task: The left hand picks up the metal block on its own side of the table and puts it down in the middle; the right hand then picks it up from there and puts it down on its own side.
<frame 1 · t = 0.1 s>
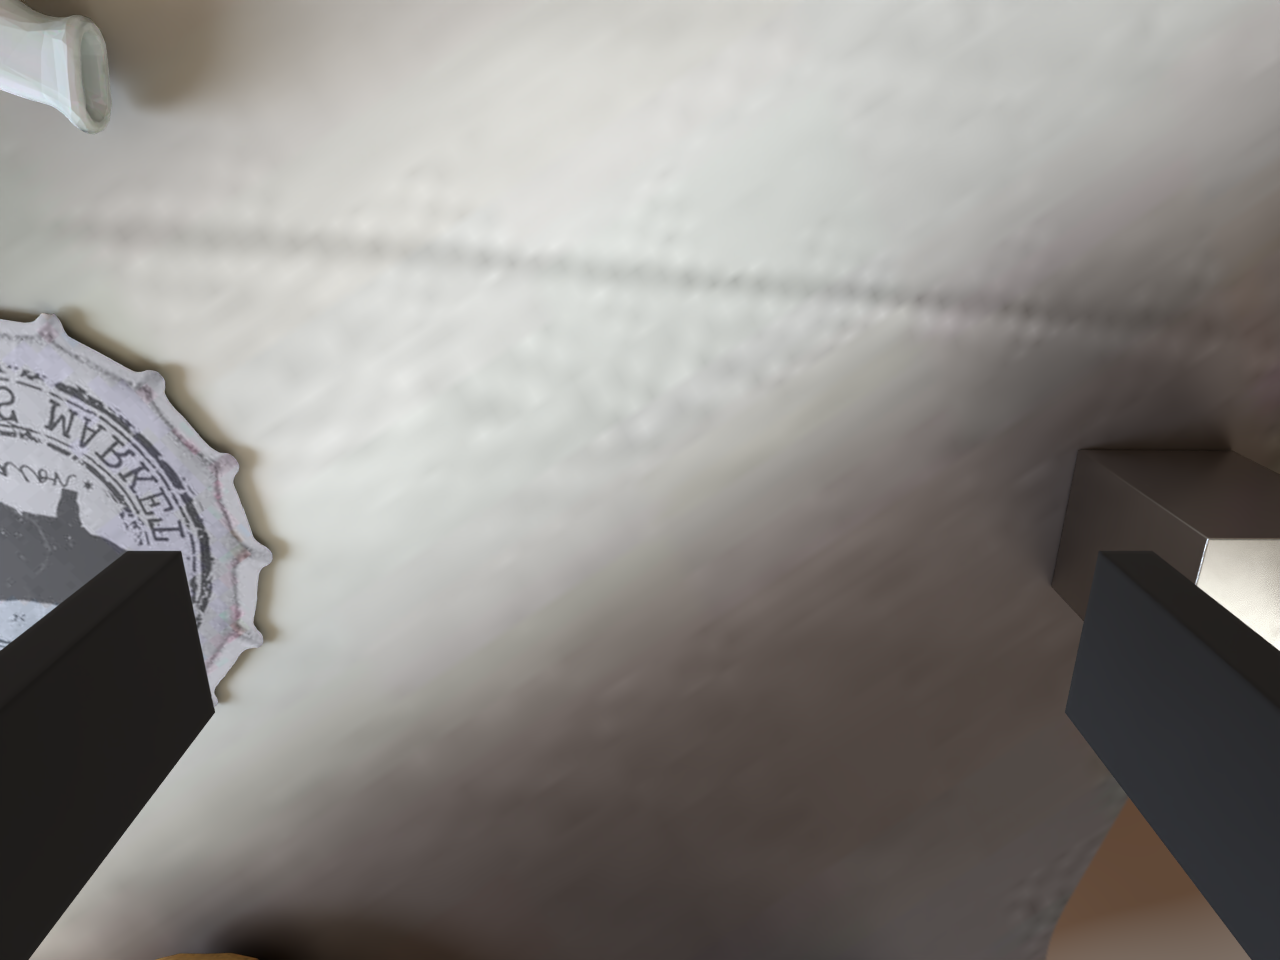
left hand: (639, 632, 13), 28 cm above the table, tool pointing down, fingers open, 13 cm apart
decorative wall hanging: (33, 596, 44), on the table
metal block: (1139, 520, 42), on the table
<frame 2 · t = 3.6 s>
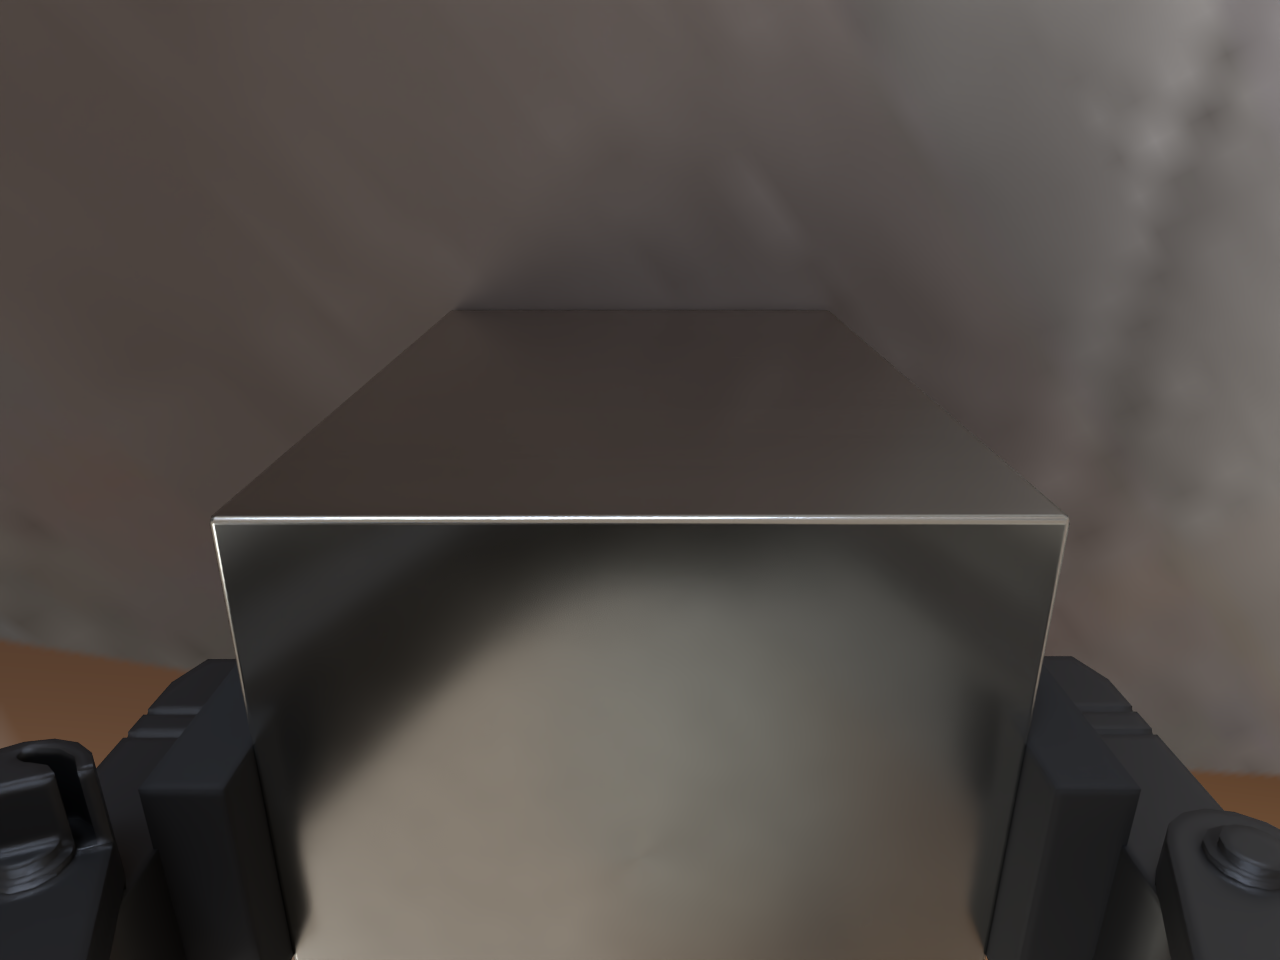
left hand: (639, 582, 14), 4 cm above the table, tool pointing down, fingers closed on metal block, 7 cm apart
metal block: (639, 487, 18), on the table, touching left hand
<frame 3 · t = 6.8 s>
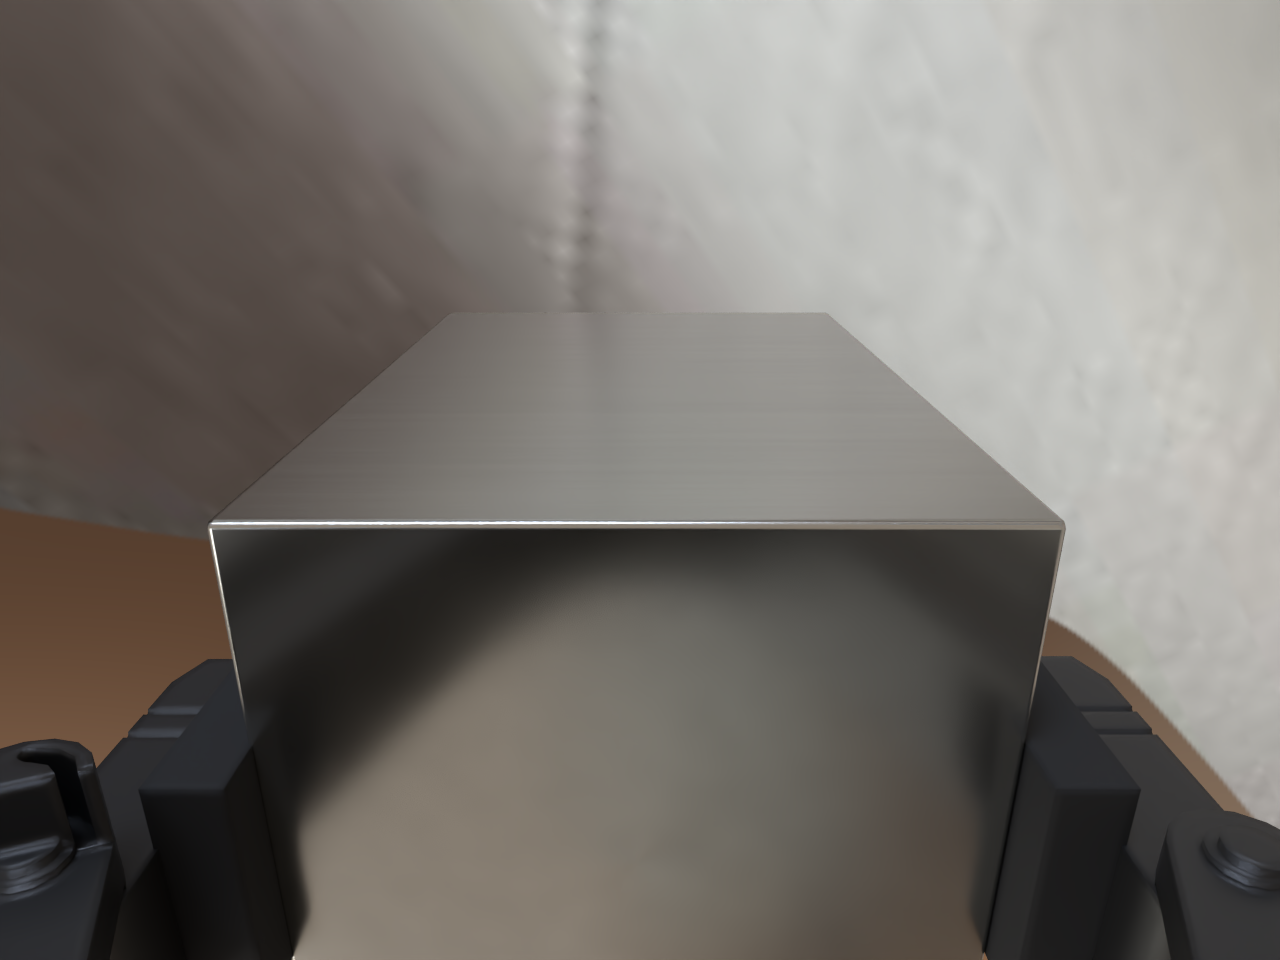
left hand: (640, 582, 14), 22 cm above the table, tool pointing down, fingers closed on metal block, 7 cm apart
metal block: (638, 489, 18), point 17 cm above the table, touching left hand
when the left hand's fingers open (6 cm above the table, at t = 10.2 s): metal block drops 2 cm, on the table.
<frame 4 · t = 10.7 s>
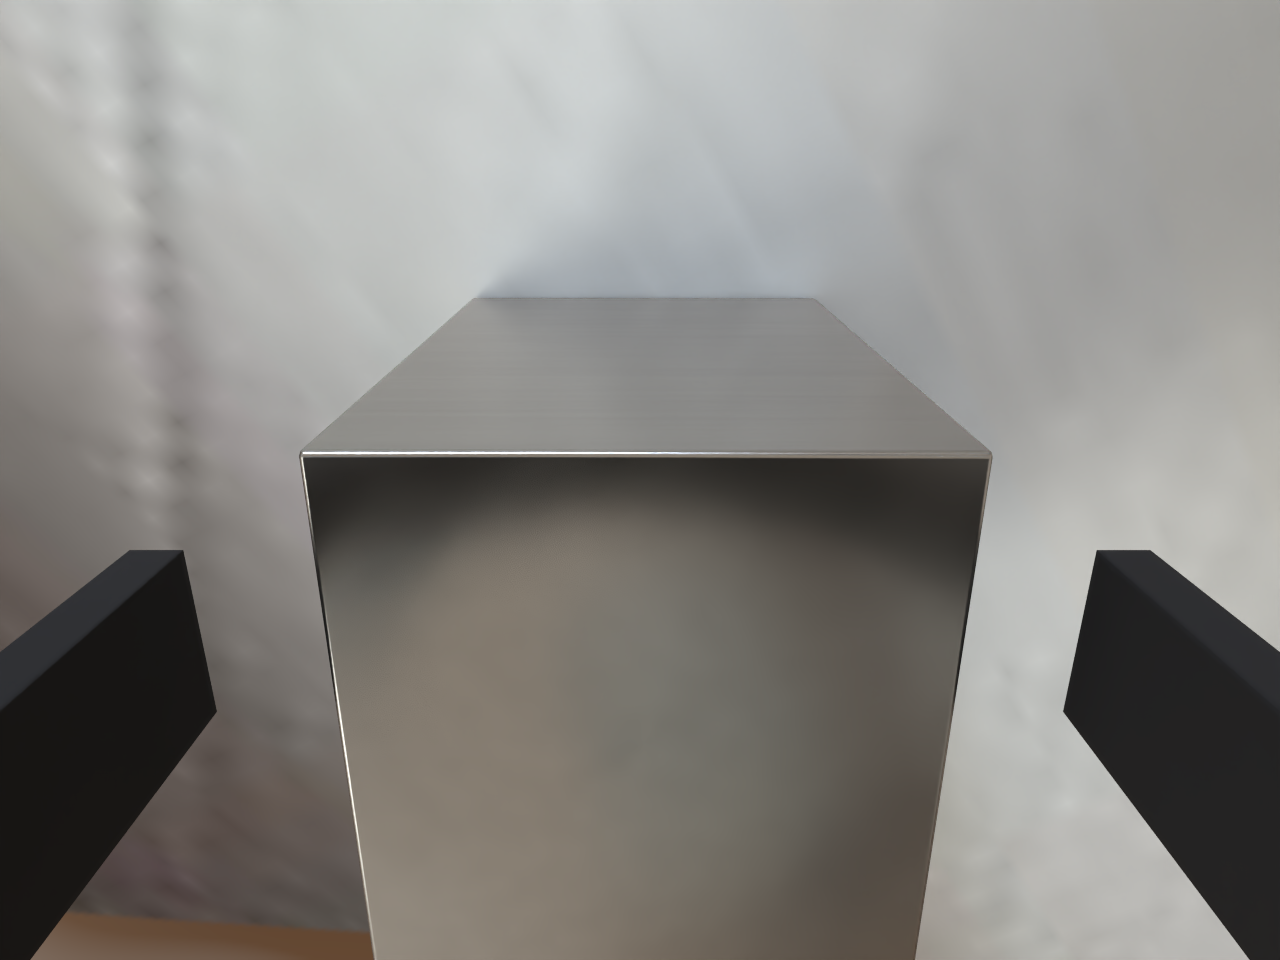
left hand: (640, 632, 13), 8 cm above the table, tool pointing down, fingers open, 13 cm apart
metal block: (643, 460, 20), on the table
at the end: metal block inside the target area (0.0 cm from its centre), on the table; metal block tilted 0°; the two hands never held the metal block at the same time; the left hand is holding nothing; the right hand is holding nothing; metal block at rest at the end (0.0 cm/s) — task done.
